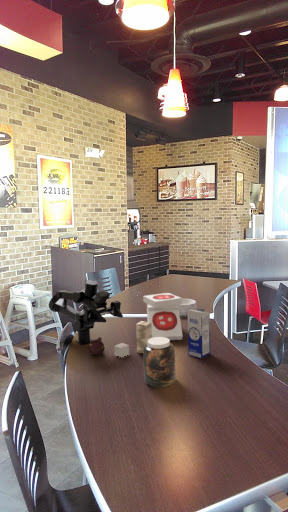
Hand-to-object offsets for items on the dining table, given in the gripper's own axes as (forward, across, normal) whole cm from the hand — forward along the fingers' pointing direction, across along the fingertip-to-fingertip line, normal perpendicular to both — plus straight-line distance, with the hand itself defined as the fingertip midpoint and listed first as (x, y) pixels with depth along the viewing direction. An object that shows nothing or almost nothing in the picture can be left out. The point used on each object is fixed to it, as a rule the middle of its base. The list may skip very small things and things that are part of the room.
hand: (114, 318), depth 161 cm
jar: (+35, -6, +8) cm, 37 cm away
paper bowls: (-15, +68, +20) cm, 73 cm away
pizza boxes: (+2, +33, +16) cm, 37 cm away
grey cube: (+7, +1, +15) cm, 16 cm away
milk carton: (+31, +24, +8) cm, 40 cm away
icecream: (-2, -6, +17) cm, 18 cm away
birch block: (+11, +10, +14) cm, 20 cm away
